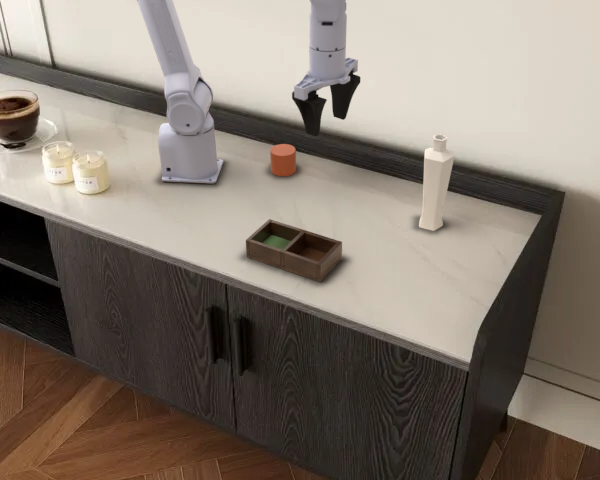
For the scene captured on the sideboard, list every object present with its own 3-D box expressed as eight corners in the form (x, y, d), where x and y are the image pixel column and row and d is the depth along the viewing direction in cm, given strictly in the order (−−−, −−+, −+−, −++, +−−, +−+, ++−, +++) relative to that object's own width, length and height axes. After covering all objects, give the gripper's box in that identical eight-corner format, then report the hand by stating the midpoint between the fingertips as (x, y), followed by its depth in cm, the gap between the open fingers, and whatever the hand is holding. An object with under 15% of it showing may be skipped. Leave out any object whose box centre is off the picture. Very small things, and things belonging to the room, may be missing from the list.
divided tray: (246, 257, 114) (245, 240, 112) (270, 235, 118) (269, 218, 116) (320, 282, 109) (320, 265, 107) (341, 258, 113) (342, 241, 111)
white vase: (427, 212, 123) (436, 127, 114) (449, 223, 120) (460, 136, 111) (409, 223, 120) (417, 137, 111) (431, 234, 118) (441, 147, 109)
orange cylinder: (269, 175, 133) (268, 155, 130) (272, 163, 136) (272, 143, 134) (294, 176, 132) (294, 156, 130) (297, 164, 136) (296, 144, 133)
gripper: (320, 65, 112) (319, 149, 120) (374, 37, 121) (370, 116, 129) (282, 54, 115) (284, 136, 124) (338, 27, 124) (336, 106, 133)
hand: (326, 125), depth 127 cm, fingers open, 7 cm apart
